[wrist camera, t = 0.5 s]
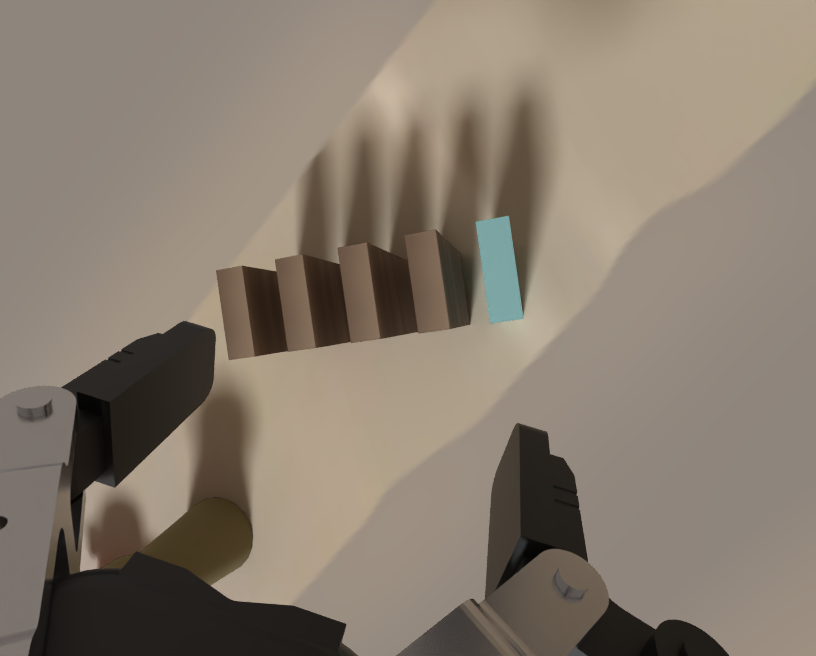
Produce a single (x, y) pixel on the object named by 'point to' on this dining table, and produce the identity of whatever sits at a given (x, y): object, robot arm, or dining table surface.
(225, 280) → the domino
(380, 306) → the domino
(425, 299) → the domino
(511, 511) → the robot arm
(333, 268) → the domino
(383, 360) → the dining table surface
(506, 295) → the domino
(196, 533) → the cork
